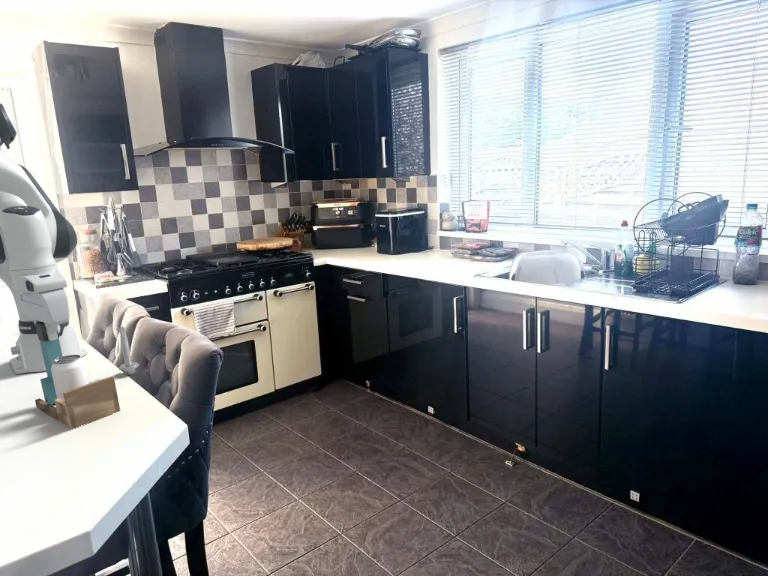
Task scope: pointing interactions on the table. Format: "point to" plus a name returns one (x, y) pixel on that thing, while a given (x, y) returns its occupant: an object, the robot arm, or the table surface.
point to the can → (68, 374)
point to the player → (48, 361)
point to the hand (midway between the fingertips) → (48, 338)
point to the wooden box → (84, 403)
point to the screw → (126, 354)
